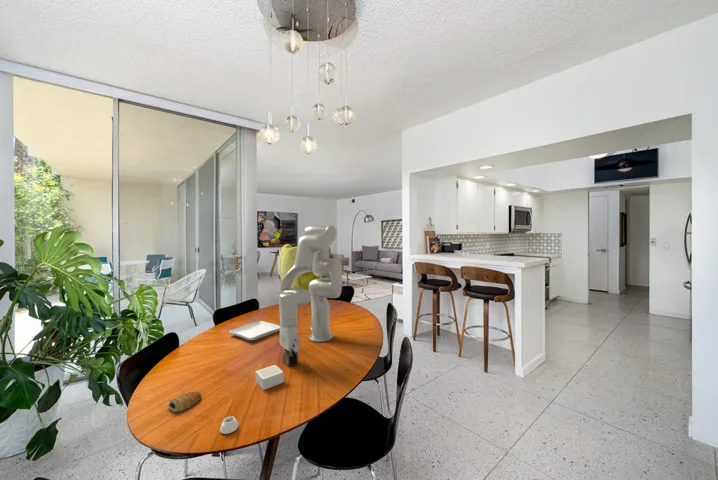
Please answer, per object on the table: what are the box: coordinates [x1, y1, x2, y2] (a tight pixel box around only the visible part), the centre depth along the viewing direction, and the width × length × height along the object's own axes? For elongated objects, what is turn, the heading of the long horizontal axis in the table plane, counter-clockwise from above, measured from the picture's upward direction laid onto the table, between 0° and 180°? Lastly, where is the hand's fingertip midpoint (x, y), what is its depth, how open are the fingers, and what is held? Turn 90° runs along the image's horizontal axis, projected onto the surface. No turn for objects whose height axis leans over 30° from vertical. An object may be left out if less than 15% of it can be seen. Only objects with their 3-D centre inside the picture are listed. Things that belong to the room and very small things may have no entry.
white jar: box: [219, 415, 240, 435], centre depth 85 cm, size 5×3×5 cm
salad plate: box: [228, 320, 280, 341], centre depth 161 cm, size 21×21×3 cm
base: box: [254, 364, 285, 391], centre depth 110 cm, size 8×8×4 cm
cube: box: [281, 350, 299, 367], centre depth 125 cm, size 5×5×5 cm
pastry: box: [167, 390, 202, 413], centre depth 97 cm, size 9×7×4 cm
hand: (290, 361), depth 125 cm, fingers closed on cube, 5 cm apart
